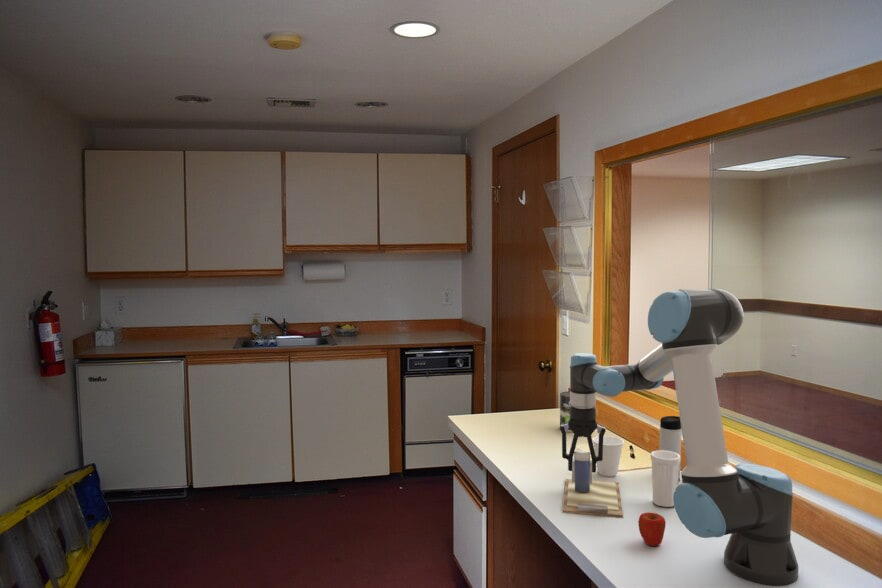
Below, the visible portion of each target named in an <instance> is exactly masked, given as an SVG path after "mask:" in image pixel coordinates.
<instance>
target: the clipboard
mask: <svg viewBox="0 0 882 588" xmlns="http://www.w3.org/2000/svg"><path fill="white" fill-rule="evenodd" d="M564 481H565V482H564V492H563V503H562V504H563V505H562V513H567V514H578V515H579V514H580V515H588V516H589V515H591V516H601V517H602V516H603V517H612V518H621V519H622V518H624V512H623V507H622V506H623V505H622V504H623V503H622V497H621V491H620V483H619V482H616V481H615V482H614V481H603V480H592V484H590V491H588V492H579V491H576V490H575V483H572V478H565V480H564Z"/></svg>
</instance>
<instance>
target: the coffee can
mask: <svg viewBox="0 0 882 588" xmlns="http://www.w3.org/2000/svg"><path fill="white" fill-rule="evenodd" d="M559 397H560V399H559V426H560V425H561V424H563V425H564V424H567V423H568V422H569V420H570V406H571V404H570V391H569V390H567V391H561V392H560V394H559ZM567 432H568V433H573V432H572V430H571V429H570V428H569V427H568V431H567ZM567 432H566V433H567Z"/></svg>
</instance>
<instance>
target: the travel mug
mask: <svg viewBox="0 0 882 588" xmlns="http://www.w3.org/2000/svg"><path fill="white" fill-rule="evenodd" d="M659 423H660V425H659V450H665V451H671V452H675V453H677V454H679V455H680V462H679V471H678V482H680V481H681V464H682V463H681V460H682V459H681V457H682V448H681V447H682V428H681V421H680V415H679V416H676V415H668V416H662V417H661V418H660V422H659Z"/></svg>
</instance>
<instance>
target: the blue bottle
mask: <svg viewBox="0 0 882 588" xmlns="http://www.w3.org/2000/svg"><path fill="white" fill-rule="evenodd" d="M573 459H575V490H576V491H579V492H588V491H590V460H591V454H590V451H588V450H587V451H586V450H575V451H574V455H573Z"/></svg>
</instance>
